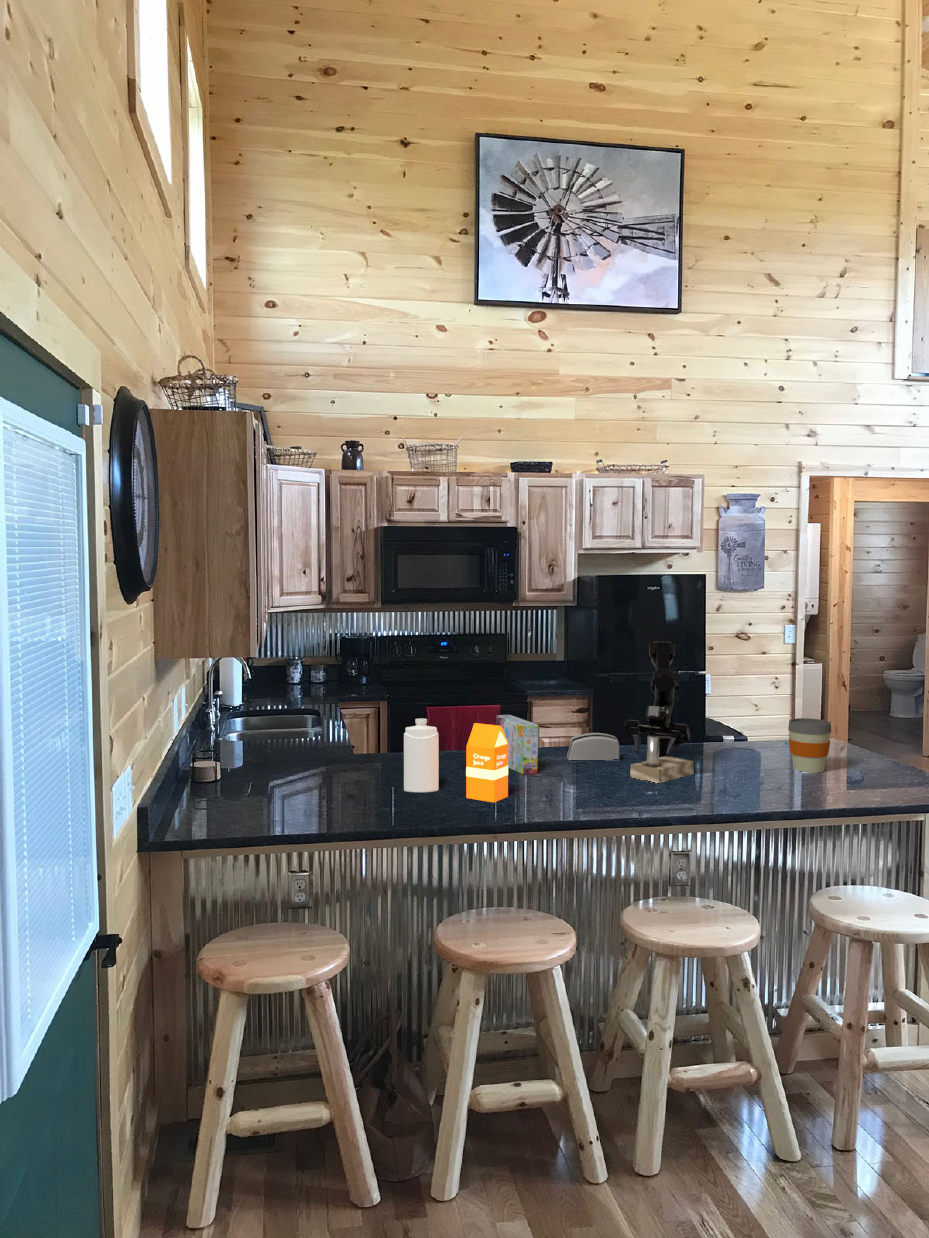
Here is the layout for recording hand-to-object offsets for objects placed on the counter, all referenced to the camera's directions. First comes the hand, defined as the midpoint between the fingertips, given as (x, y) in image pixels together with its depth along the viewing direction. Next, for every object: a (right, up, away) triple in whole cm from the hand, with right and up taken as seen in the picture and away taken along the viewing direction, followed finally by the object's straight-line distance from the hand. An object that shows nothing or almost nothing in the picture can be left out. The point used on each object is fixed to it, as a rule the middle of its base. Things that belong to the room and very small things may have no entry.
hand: (651, 754), depth 288 cm
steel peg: (+1, -8, +2) cm, 8 cm away
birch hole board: (+4, -7, +5) cm, 10 cm away
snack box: (-39, -7, +17) cm, 43 cm away
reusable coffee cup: (+51, -7, +14) cm, 53 cm away
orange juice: (-49, -9, -21) cm, 54 cm away
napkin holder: (-13, -6, +28) cm, 32 cm away
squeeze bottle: (-67, -9, -13) cm, 69 cm away
